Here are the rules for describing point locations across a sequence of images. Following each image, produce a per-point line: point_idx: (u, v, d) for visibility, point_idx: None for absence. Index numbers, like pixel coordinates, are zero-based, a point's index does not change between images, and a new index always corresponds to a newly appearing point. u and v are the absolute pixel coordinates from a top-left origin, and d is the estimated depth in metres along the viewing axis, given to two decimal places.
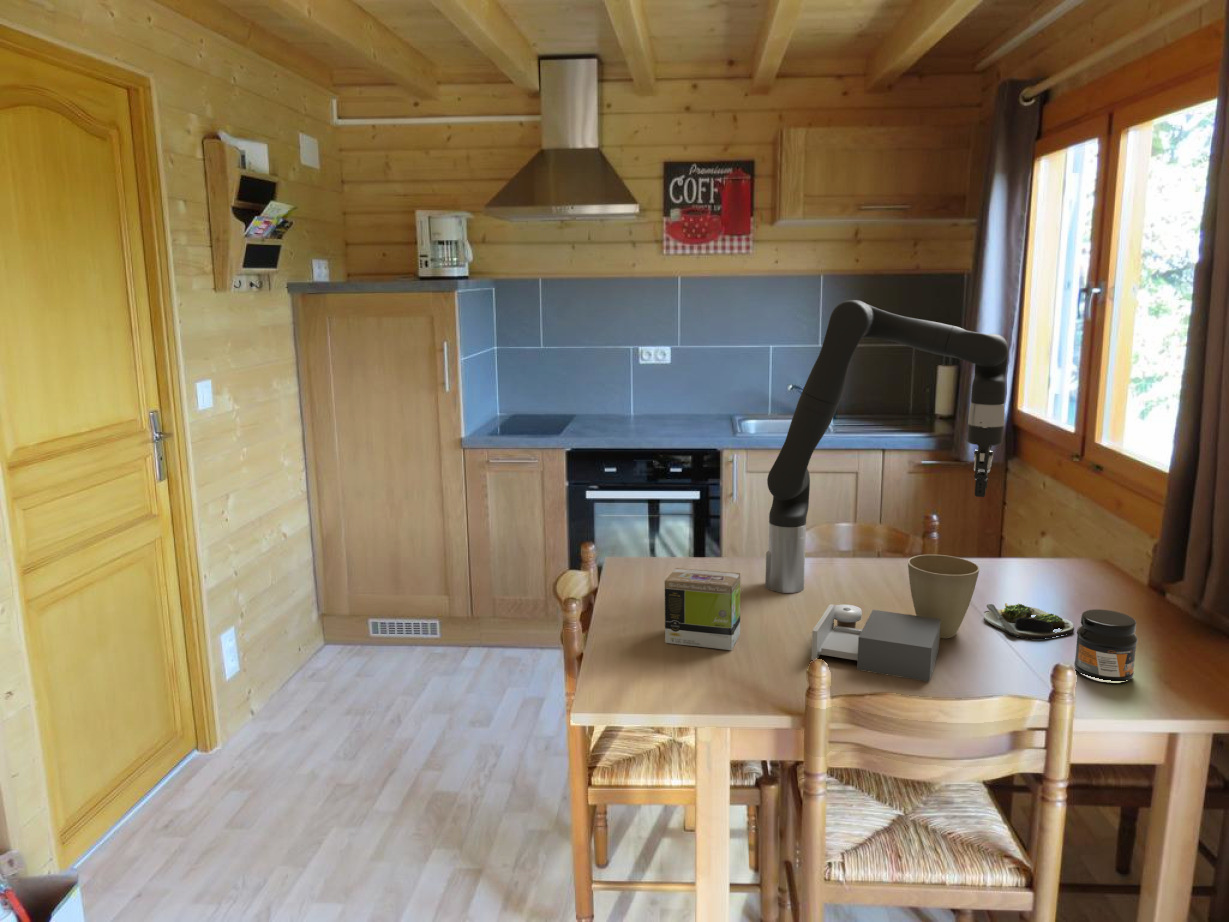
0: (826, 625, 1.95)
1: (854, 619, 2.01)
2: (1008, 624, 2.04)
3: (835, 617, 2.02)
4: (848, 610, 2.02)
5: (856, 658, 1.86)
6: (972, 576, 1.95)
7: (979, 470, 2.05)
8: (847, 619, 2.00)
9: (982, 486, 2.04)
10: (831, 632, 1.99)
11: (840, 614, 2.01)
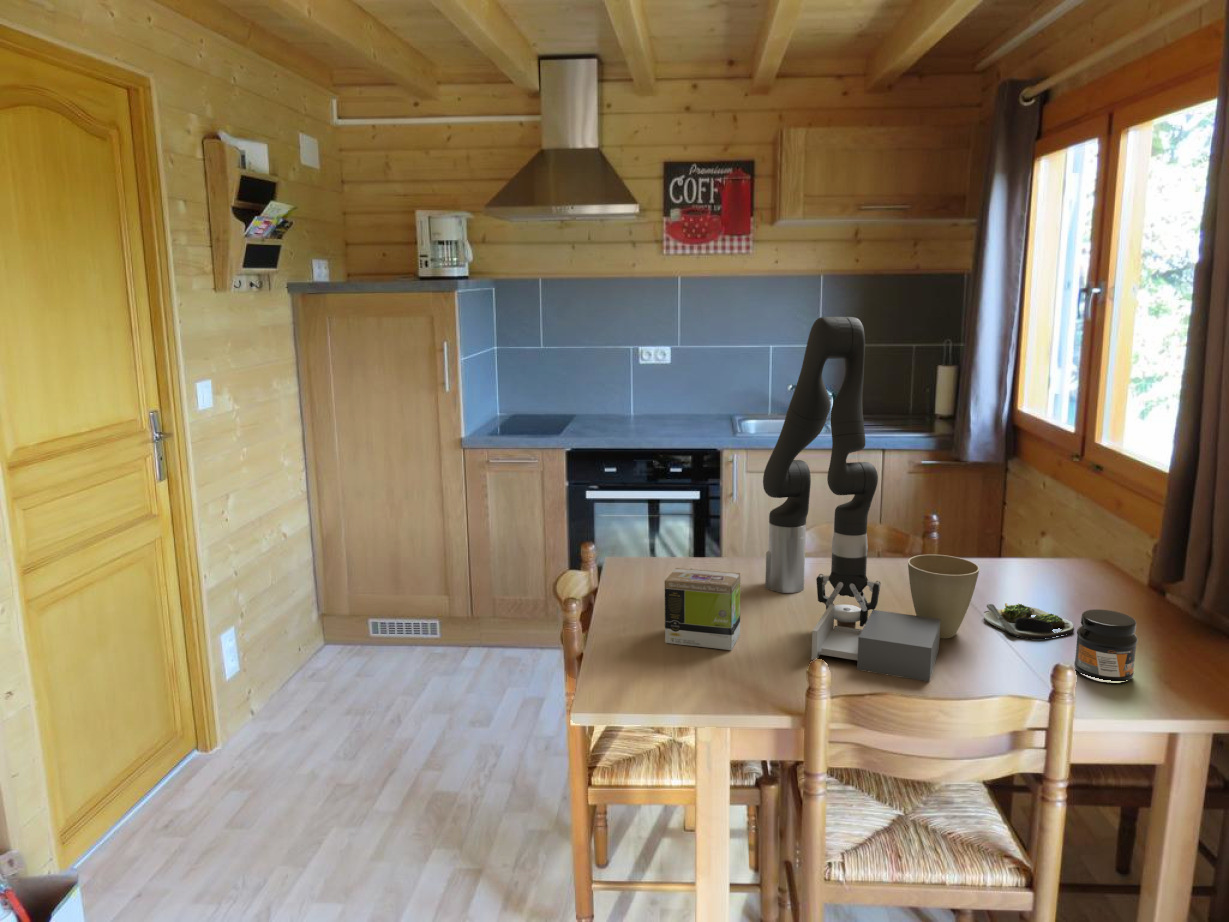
0: (826, 625, 1.95)
1: (854, 619, 2.01)
2: (1008, 624, 2.04)
3: (835, 617, 2.02)
4: (848, 610, 2.02)
5: (856, 658, 1.86)
6: (972, 576, 1.95)
7: None
8: (847, 619, 2.00)
9: (867, 614, 2.02)
10: (831, 632, 1.99)
11: (840, 614, 2.01)
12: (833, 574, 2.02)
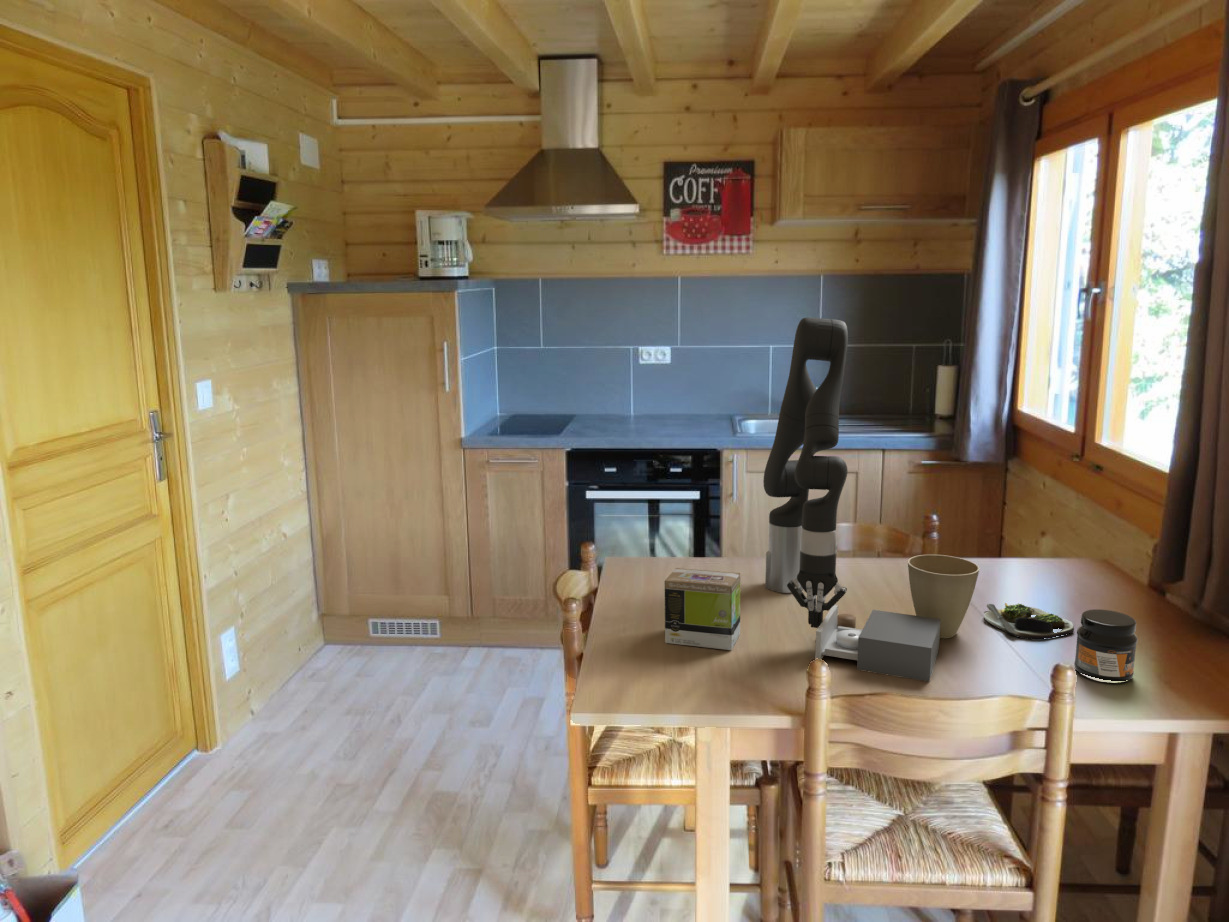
0: (830, 626, 1.95)
1: None
2: (1008, 624, 2.04)
3: None
4: (854, 634, 1.93)
5: None
6: (972, 576, 1.95)
7: None
8: None
9: (822, 615, 1.95)
10: (835, 633, 1.99)
11: None
12: (801, 573, 1.93)
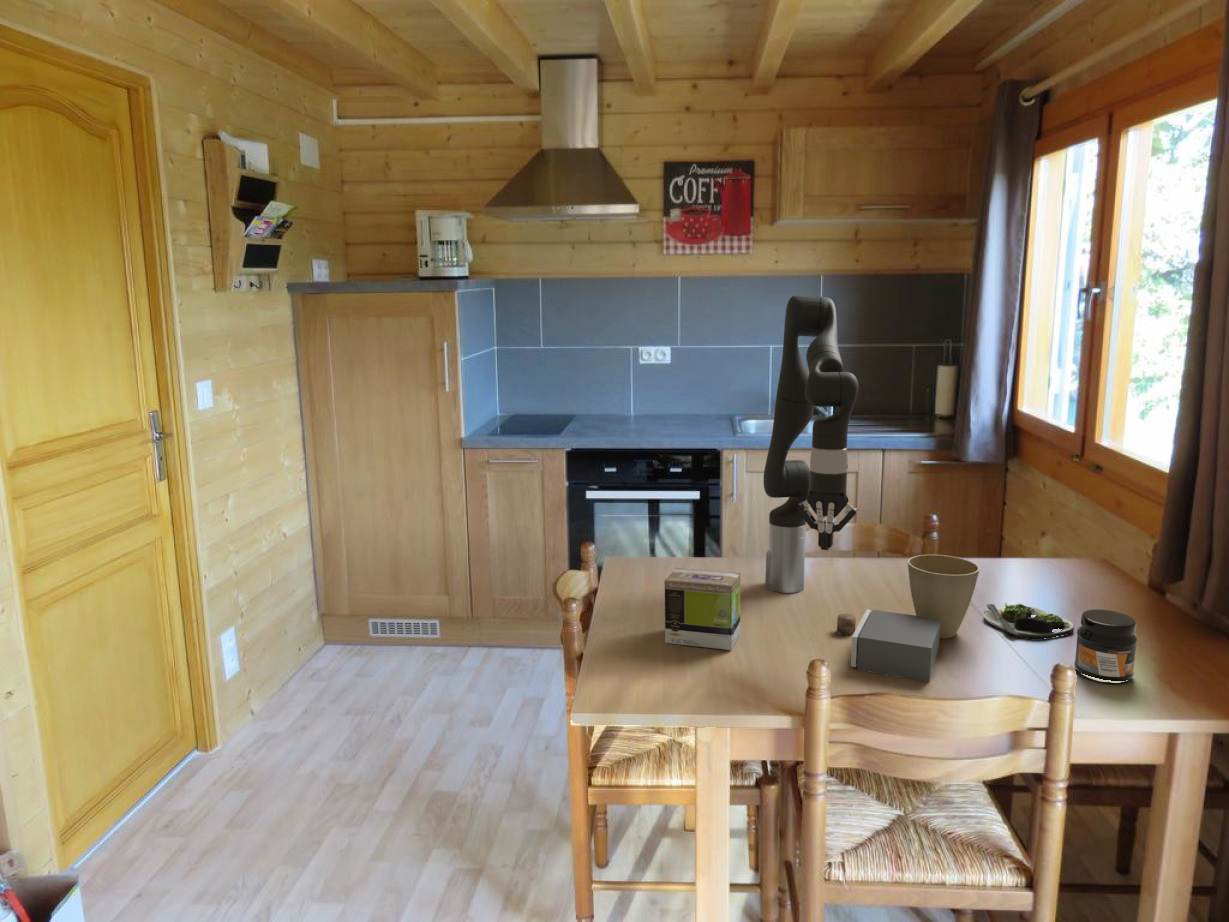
0: None
1: None
2: (1008, 624, 2.04)
3: None
4: None
5: None
6: (972, 576, 1.95)
7: None
8: None
9: None
10: None
11: None
12: (811, 493, 1.90)
